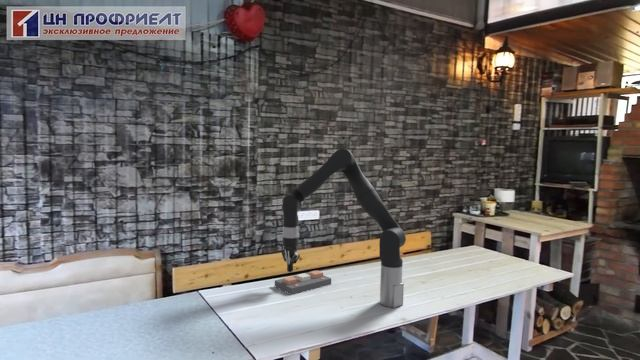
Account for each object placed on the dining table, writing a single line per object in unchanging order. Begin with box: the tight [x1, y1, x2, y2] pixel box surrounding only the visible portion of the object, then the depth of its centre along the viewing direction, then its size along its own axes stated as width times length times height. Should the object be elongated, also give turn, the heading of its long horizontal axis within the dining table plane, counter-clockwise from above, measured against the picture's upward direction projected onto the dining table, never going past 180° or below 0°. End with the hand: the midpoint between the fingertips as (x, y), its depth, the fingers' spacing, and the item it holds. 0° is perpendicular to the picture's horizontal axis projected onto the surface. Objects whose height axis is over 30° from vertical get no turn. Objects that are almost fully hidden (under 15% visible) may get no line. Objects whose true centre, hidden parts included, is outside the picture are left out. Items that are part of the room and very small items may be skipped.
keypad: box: [274, 272, 332, 296], centre depth 201 cm, size 14×24×3 cm, turn 129°
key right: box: [308, 269, 324, 279], centre depth 206 cm, size 5×5×3 cm
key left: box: [282, 275, 297, 285], centre depth 196 cm, size 5×5×3 cm
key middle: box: [295, 272, 311, 282], centre depth 201 cm, size 5×5×3 cm
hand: (289, 271), depth 196 cm, fingers closed
